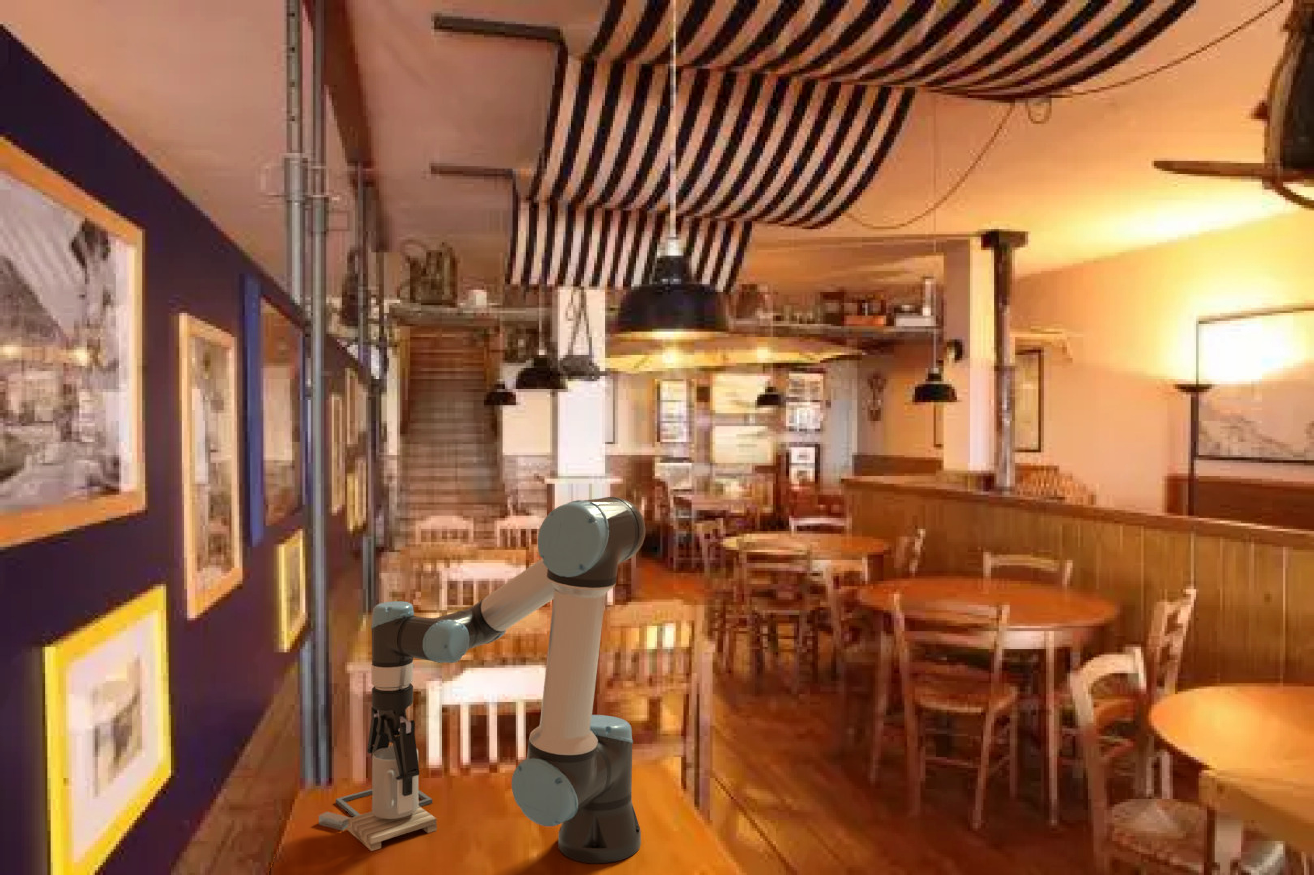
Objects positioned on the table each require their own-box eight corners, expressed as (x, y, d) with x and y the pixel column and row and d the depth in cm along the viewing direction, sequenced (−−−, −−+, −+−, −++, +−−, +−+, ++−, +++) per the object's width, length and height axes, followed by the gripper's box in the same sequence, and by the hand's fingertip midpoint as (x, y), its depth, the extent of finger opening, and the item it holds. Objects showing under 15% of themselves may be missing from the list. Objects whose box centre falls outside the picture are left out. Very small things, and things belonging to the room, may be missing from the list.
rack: (436, 830, 168) (436, 818, 168) (371, 851, 159) (371, 838, 159) (410, 810, 176) (410, 799, 176) (347, 829, 168) (347, 818, 168)
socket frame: (432, 803, 180) (432, 799, 180) (361, 824, 170) (361, 820, 170) (404, 783, 190) (404, 780, 190) (335, 802, 180) (335, 798, 180)
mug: (377, 801, 173) (377, 745, 173) (421, 799, 174) (422, 743, 173) (363, 828, 161) (363, 768, 161) (411, 826, 162) (411, 766, 162)
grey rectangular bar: (350, 827, 169) (350, 817, 169) (342, 832, 167) (342, 821, 167) (326, 821, 172) (326, 811, 172) (318, 825, 170) (318, 815, 170)
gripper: (438, 694, 161) (438, 816, 162) (385, 668, 178) (385, 778, 179) (400, 703, 156) (399, 828, 157) (349, 675, 173) (349, 788, 174)
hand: (392, 801), depth 168 cm, fingers closed on mug, 10 cm apart
